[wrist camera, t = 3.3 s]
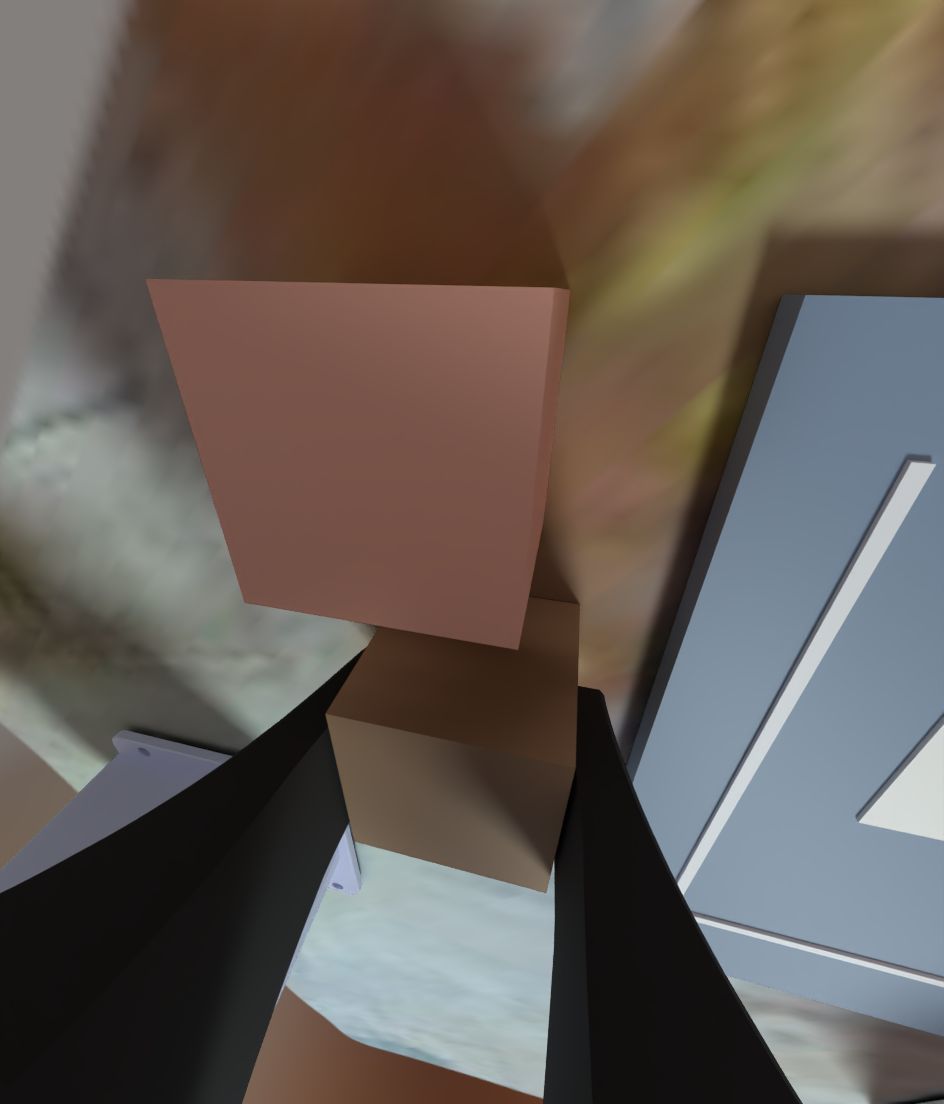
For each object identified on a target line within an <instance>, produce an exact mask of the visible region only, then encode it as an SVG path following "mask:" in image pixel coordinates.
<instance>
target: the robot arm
mask: <svg viewBox="0 0 944 1104" xmlns="http://www.w3.org/2000/svg"><path fill="white" fill-rule="evenodd" d="M366 648H367V647H366ZM366 648H365V649H366ZM365 649H363V650H362V651H361V652H360V653H358V654H357V655H356V656H355V657H354V658H353V659H351V660H350V661H349V662H348V663H347V664H346V665H345V666H344V667H342V668H341V669H340V670H339V671H338V672H337V673H336V674H334V675H333V676H332V677H331V678H330V679H329V680H328V681H326V682H325V683H324V684H323V685H322V686H321V687H320V688H318V689H317V690H316V691H315V692H314V693H313V694H311V695H310V696H309V697H308V698H307V699H305V700H304V701H303V702H302V703H301V704H299V705H298V706H297V707H296V708H295V709H293V710H292V711H291V712H290V713H288V714H287V715H286V716H285V717H284V718H282V719H281V720H280V721H279V722H277V723H276V724H275V725H273V726H272V727H271V728H270V729H268V730H267V731H266V732H264V733H263V734H262V735H260V736H259V737H258V738H256V739H255V740H254V741H253V742H251V743H250V744H249V745H247V746H246V747H245V748H243V749H242V750H241V751H239V752H238V753H237V754H235V755H234V756H230V755H226V754H222V753H218V752H214V751H210V750H206V749H201V748H197V747H193V746H189V745H185V744H181V743H177V742H173V741H169V740H165V739H161V738H156V737H152V736H148V735H144V734H140V733H136V732H132V731H128V730H122V731H119V732H118V733H117V734H116V735H115V736H114V737H113V739H112V742H113V745H114V746H115V748H116V749H117V751H118V753H119V754H118V755H117V756H116V757H115V758H114V759H113V760H112V761H111V762H110V763H109V764H108V765H106V766H105V767H104V768H103V769H102V770H101V771H100V772H99V773H98V774H97V775H96V776H95V777H94V778H93V779H92V780H91V781H90V782H89V783H88V784H87V785H86V786H85V787H84V788H83V789H82V790H81V791H80V792H79V793H78V794H77V795H76V796H75V797H74V798H73V799H72V800H71V801H70V802H69V803H68V804H67V805H66V806H65V807H64V808H63V809H62V810H61V811H60V812H59V813H58V814H57V815H56V816H55V817H54V818H53V819H52V820H51V821H50V822H49V823H48V824H47V825H46V826H45V827H43V828H42V829H41V830H40V832H38V833H37V835H35V836H34V837H33V838H32V839H31V840H30V841H29V843H27V844H26V845H25V846H24V847H23V848H22V849H21V850H20V851H19V852H18V853H17V854H16V855H15V856H14V857H13V858H12V859H11V860H10V861H9V862H8V863H7V864H6V865H5V866H4V867H3V868H2V869H1V870H0V1104H242V1102H243V1099H244V1096H245V1093H246V1090H247V1087H248V1083H249V1081H250V1078H251V1074H252V1071H253V1069H254V1066H255V1062H256V1059H257V1056H258V1054H259V1051H260V1048H261V1045H262V1042H263V1039H264V1037H265V1034H266V1031H267V1028H268V1025H269V1022H270V1020H271V1017H272V1014H273V1011H274V1009H275V1007H276V1004H277V1002H278V1000H279V997H280V995H281V993H282V991H283V988H284V986H285V984H286V981H287V979H288V977H289V975H290V972H291V970H292V968H293V965H294V963H295V961H296V959H297V956H298V954H299V952H300V949H301V947H302V945H303V943H304V940H305V938H306V936H307V933H308V931H309V929H310V927H311V924H312V922H313V920H314V917H315V915H316V913H317V911H318V908H319V906H320V904H321V901H322V899H323V897H324V894H325V892H326V890H327V888H331V889H334V890H338V891H341V892H345V893H348V894H352V895H355V894H358V893H359V891H360V889H361V886H362V880H361V875H360V871H359V867H358V862H357V858H356V854H355V849H354V845H353V841H352V836H351V832H350V828H349V822H350V820H349V816H348V811H347V807H346V803H345V798H344V794H343V789H342V785H341V780H340V776H339V772H338V767H337V763H336V758H335V754H334V750H333V745H332V741H331V736H330V732H329V728H328V723H327V719H326V712H327V710H328V709H329V707H330V706H331V704H332V702H333V701H334V699H335V698H336V696H337V694H338V693H339V691H340V689H341V688H342V686H343V685H344V683H345V681H346V680H347V678H348V677H349V675H350V673H351V672H352V670H353V669H354V667H355V665H356V664H357V662H358V661H359V659H360V657H361V656H362V654H363V653H364V651H365ZM554 867H555V931H554V955H553V970H552V985H551V1000H550V1014H549V1028H548V1042H547V1057H546V1071H545V1084H544V1098H543V1104H803V1103H802V1102H801V1100H800V1099H799V1097H798V1095H797V1094H796V1092H795V1091H794V1089H793V1087H792V1086H791V1084H790V1083H789V1081H788V1079H787V1078H786V1076H785V1074H784V1073H783V1071H782V1069H781V1068H780V1066H779V1064H778V1063H777V1061H776V1059H775V1058H774V1056H773V1054H772V1052H771V1051H770V1049H769V1047H768V1046H767V1044H766V1042H765V1041H764V1039H763V1037H762V1036H761V1034H760V1032H759V1031H758V1029H757V1027H756V1025H755V1024H754V1022H753V1020H752V1019H751V1017H750V1015H749V1014H748V1012H747V1010H746V1009H745V1007H744V1005H743V1004H742V1002H741V1000H740V998H739V997H738V995H737V993H736V992H735V990H734V988H733V987H732V985H731V983H730V982H729V980H728V978H727V976H726V975H725V973H724V971H723V969H722V967H721V966H720V964H719V962H718V960H717V958H716V956H715V955H714V953H713V951H712V949H711V947H710V945H709V944H708V942H707V940H706V938H705V936H704V934H703V933H702V931H701V929H700V927H699V925H698V923H697V921H696V919H695V917H694V916H693V914H692V912H691V910H690V908H689V906H688V904H687V902H686V900H685V898H684V896H683V894H682V892H681V890H680V888H679V886H678V884H677V882H676V880H675V878H674V876H673V874H672V872H671V870H670V868H669V866H668V864H667V862H666V860H665V858H664V855H663V853H662V851H661V849H660V847H659V845H658V842H657V840H656V838H655V836H654V834H653V831H652V829H651V827H650V825H649V822H648V820H647V818H646V815H645V813H644V811H643V808H642V806H641V804H640V801H639V799H638V796H637V794H636V791H635V789H634V786H633V784H632V781H631V779H630V776H629V774H628V771H627V769H626V766H625V763H624V760H623V758H622V755H621V752H620V749H619V746H618V743H617V740H616V737H615V734H614V731H613V728H612V725H611V721H610V718H609V714H608V711H607V707H606V703H605V698H604V695H603V693H602V692H601V691H600V690H597V689H592V688H586V687H581V686H578V694H577V733H576V768H575V772H574V777H573V781H572V785H571V790H570V794H569V798H568V802H567V807H566V811H565V815H564V819H563V824H562V828H561V832H560V837H559V841H558V845H557V849H556V854H555V858H554Z"/></svg>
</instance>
